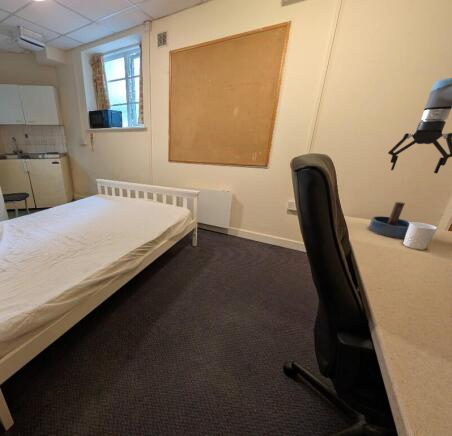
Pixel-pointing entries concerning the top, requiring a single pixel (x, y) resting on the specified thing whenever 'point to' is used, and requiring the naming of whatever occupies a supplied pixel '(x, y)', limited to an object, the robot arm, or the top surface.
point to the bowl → (389, 227)
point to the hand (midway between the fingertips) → (412, 171)
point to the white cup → (419, 235)
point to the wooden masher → (395, 213)
